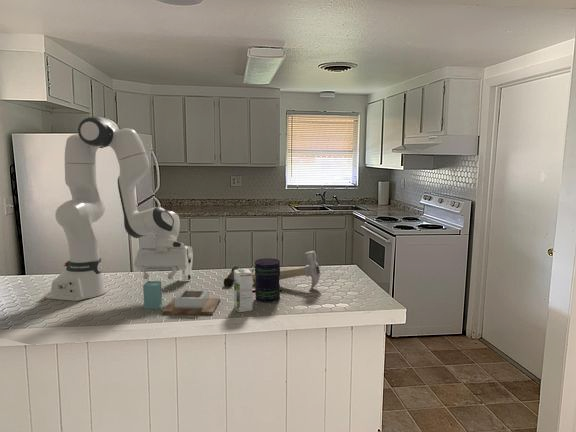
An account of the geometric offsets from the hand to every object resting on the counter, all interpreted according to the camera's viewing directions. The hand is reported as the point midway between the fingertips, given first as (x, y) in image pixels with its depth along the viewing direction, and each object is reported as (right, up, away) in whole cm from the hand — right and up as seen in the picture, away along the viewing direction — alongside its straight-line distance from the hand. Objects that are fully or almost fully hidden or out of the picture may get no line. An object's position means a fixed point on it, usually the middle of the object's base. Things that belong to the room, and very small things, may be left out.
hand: (157, 278), depth 168 cm
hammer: (+49, -6, +19) cm, 53 cm away
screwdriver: (+32, -5, +33) cm, 46 cm away
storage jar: (+42, -9, +4) cm, 43 cm away
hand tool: (+25, -5, +29) cm, 38 cm away
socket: (+15, -9, -6) cm, 18 cm away
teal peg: (0, -10, -4) cm, 11 cm away
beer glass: (+4, -5, +29) cm, 30 cm away
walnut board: (+15, -10, -6) cm, 18 cm away
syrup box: (+34, -10, -7) cm, 36 cm away
